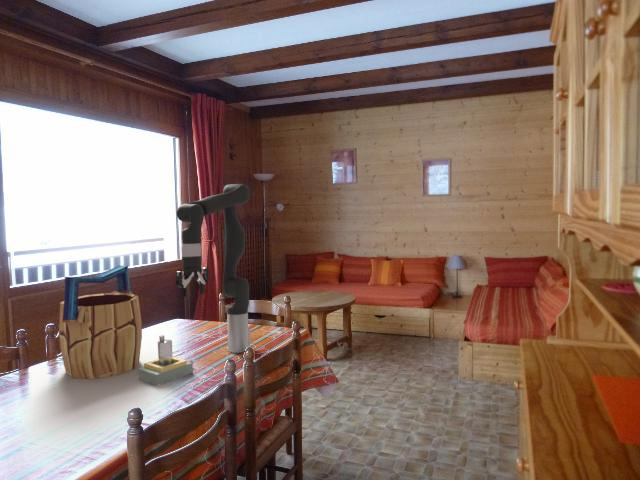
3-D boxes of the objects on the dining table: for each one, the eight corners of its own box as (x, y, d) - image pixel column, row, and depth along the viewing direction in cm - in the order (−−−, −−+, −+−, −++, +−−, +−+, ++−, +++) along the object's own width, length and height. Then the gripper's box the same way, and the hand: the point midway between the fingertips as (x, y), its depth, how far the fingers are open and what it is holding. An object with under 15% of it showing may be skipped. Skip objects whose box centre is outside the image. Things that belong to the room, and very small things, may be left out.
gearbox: (182, 364, 194) (181, 351, 194) (200, 370, 187) (200, 356, 187) (138, 378, 178) (137, 364, 178) (157, 385, 171) (156, 370, 171)
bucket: (97, 352, 213) (93, 264, 211) (161, 354, 209) (157, 265, 206) (33, 383, 175) (27, 277, 172) (109, 387, 170) (104, 278, 168)
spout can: (167, 366, 185) (166, 332, 184) (176, 368, 182) (174, 334, 181) (156, 370, 180) (154, 335, 180) (164, 372, 177) (162, 337, 177)
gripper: (200, 252, 192) (201, 291, 193) (170, 256, 181) (172, 297, 182) (212, 253, 188) (213, 293, 189) (182, 256, 177) (184, 299, 178)
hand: (193, 295), depth 186 cm, fingers open, 8 cm apart
